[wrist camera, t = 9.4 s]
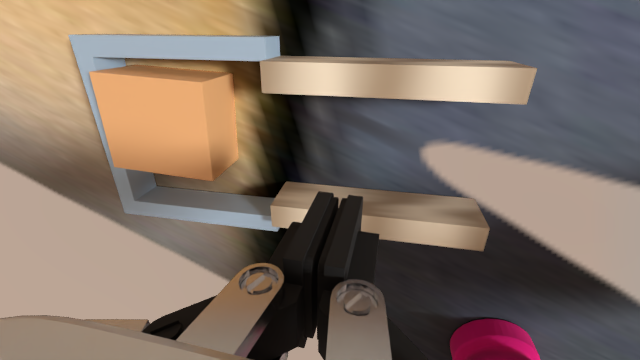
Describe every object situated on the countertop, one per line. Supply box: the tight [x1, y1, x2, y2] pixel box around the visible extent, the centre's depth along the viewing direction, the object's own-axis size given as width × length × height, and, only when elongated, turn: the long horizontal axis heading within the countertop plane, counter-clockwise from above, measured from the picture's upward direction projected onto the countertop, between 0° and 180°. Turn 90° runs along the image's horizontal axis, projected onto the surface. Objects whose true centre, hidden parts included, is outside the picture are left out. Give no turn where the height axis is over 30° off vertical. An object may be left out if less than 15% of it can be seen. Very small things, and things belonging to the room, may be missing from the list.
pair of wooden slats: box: [260, 56, 537, 251], centre depth 19 cm, size 13×10×4 cm
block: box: [89, 65, 238, 181], centre depth 20 cm, size 7×6×4 cm
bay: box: [69, 34, 280, 231], centre depth 21 cm, size 12×12×2 cm
